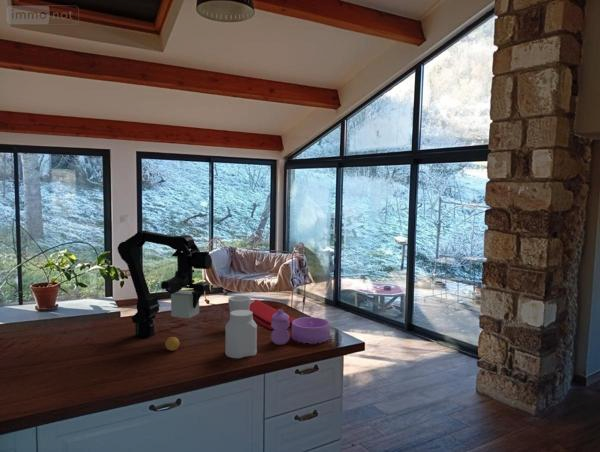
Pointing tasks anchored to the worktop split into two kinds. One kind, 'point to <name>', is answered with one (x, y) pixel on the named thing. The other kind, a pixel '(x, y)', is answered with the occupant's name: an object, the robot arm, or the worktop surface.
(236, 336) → the jar
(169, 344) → the ball
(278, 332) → the container set
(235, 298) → the foam cup
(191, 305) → the pale grey cube
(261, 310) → the dish drying mat
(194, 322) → the worktop surface
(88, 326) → the worktop surface
